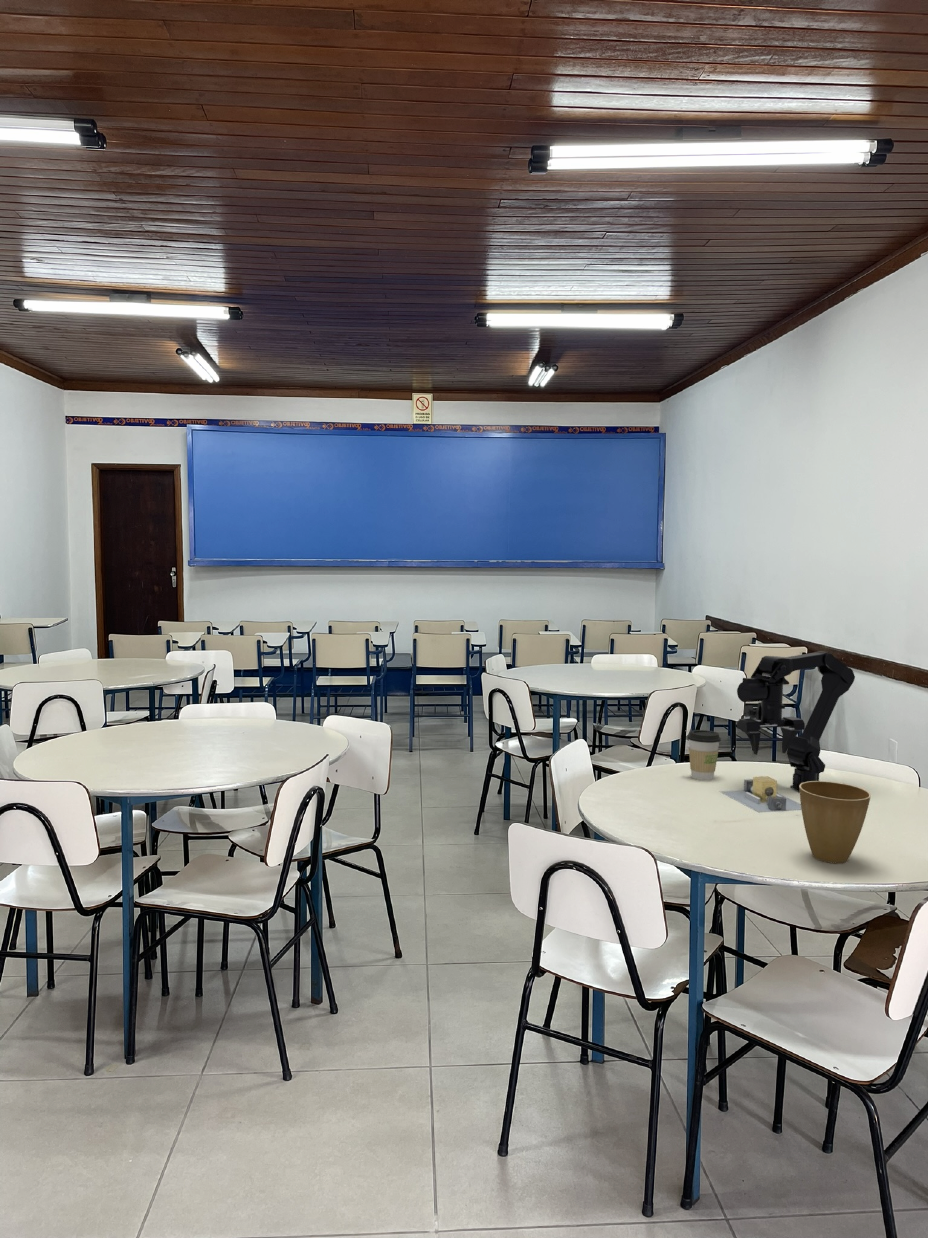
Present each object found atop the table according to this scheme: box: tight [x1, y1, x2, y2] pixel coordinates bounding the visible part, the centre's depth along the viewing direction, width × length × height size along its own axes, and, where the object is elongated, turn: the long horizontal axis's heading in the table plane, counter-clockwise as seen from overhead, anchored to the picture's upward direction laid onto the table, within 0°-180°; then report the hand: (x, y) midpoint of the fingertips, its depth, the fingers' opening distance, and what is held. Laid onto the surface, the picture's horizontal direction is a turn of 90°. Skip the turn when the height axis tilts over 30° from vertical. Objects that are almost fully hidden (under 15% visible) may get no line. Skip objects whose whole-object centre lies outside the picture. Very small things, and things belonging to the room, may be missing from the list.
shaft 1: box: [743, 779, 753, 793], centre depth 242 cm, size 6×4×3 cm
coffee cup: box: [686, 729, 722, 781], centre depth 258 cm, size 10×10×15 cm
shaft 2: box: [766, 796, 786, 810], centre depth 228 cm, size 6×4×3 cm
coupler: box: [752, 775, 778, 803], centre depth 235 cm, size 5×4×6 cm
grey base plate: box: [718, 789, 802, 813], centre depth 235 cm, size 16×20×3 cm
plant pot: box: [798, 780, 871, 864], centre depth 193 cm, size 15×15×16 cm
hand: (769, 753), depth 244 cm, fingers open, 9 cm apart
